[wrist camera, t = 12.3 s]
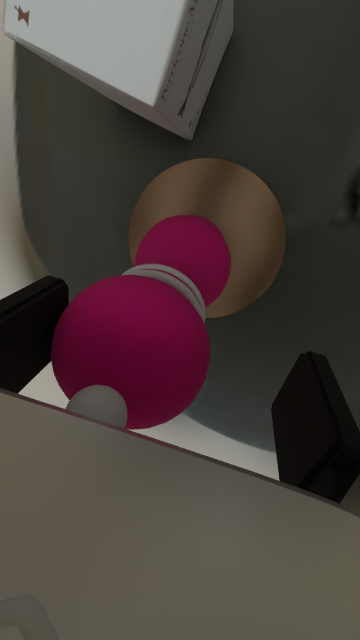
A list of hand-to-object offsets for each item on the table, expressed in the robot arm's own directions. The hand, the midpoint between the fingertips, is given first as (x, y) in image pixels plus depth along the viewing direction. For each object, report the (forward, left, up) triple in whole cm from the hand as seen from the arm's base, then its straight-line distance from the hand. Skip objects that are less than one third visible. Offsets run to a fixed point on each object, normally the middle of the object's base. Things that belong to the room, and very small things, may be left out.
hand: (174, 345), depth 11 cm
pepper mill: (+1, +1, -16) cm, 16 cm away
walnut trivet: (+1, 0, -18) cm, 18 cm away
